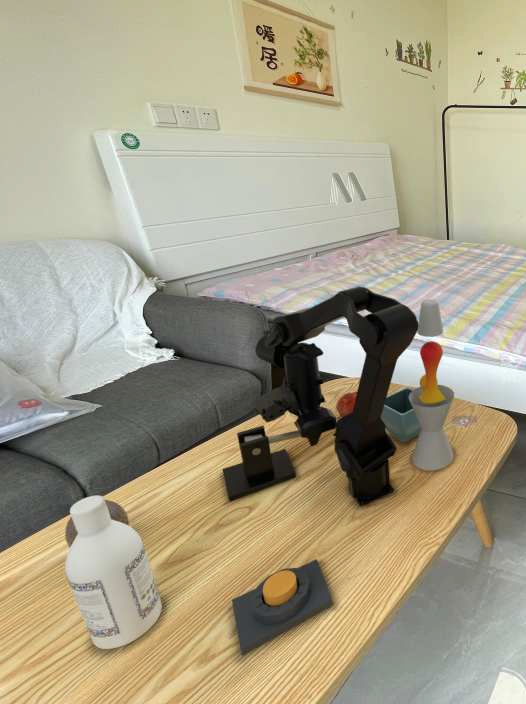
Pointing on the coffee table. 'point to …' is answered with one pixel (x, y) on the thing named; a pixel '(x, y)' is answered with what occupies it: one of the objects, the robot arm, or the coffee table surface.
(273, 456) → the bracket
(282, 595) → the button
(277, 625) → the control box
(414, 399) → the lava lamp
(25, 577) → the coffee table surface
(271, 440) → the lever
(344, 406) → the pomegranate
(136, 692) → the coffee table surface
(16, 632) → the coffee table surface
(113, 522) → the bath foam
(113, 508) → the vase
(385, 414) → the flower pot
